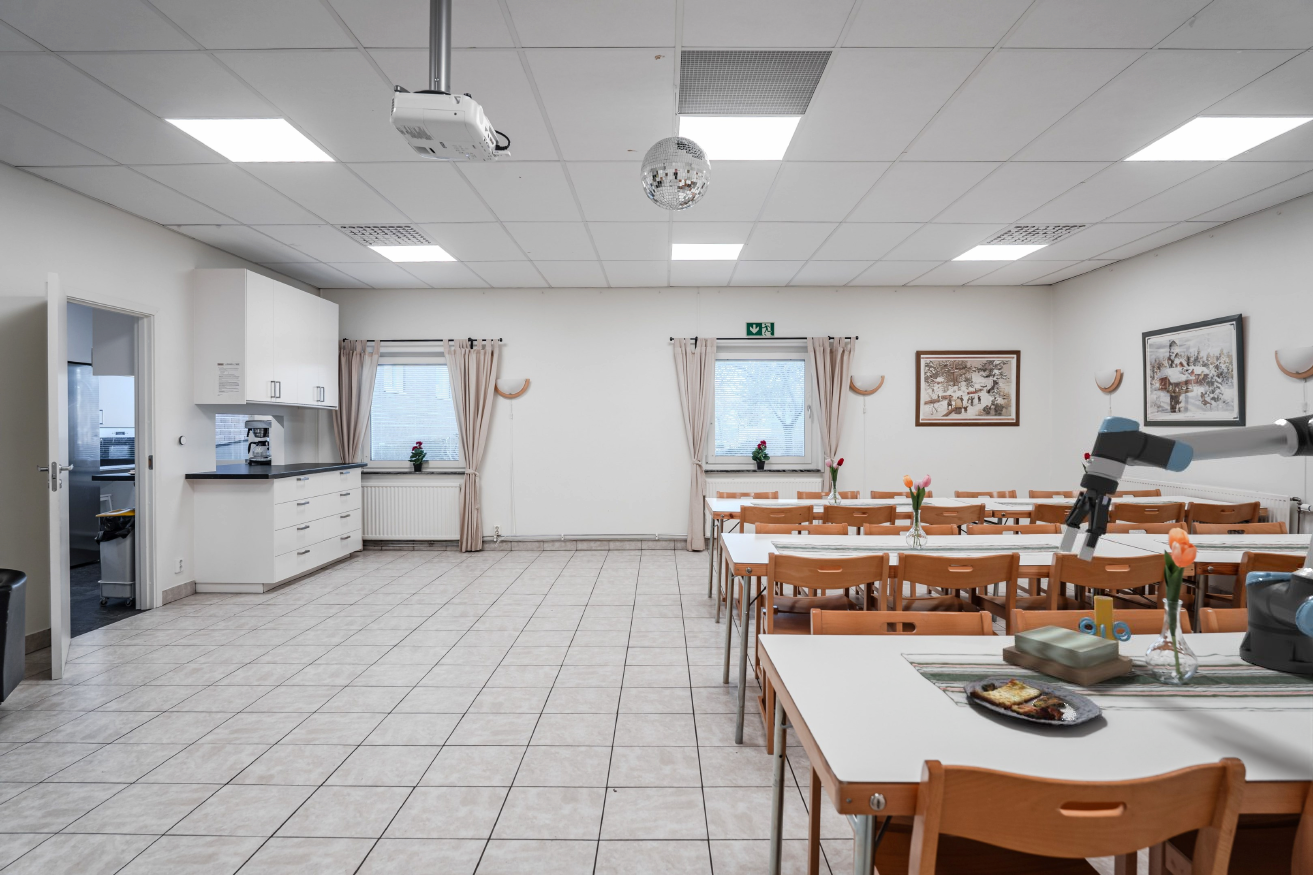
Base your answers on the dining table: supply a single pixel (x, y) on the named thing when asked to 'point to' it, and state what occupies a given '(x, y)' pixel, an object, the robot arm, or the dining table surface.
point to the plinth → (1070, 670)
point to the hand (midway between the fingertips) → (1073, 555)
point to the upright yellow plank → (1105, 621)
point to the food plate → (1030, 700)
